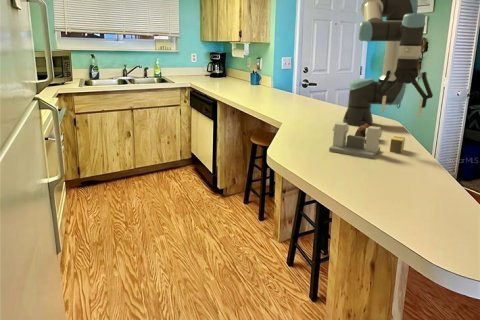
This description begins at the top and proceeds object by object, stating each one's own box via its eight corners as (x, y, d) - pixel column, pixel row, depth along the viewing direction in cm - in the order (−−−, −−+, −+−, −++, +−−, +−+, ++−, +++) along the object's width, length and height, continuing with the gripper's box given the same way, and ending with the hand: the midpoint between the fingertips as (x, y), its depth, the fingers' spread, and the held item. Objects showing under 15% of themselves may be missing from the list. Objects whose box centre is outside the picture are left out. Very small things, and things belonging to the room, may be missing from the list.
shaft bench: (337, 144, 157) (339, 120, 153) (381, 151, 147) (385, 125, 144) (327, 151, 147) (329, 125, 144) (374, 158, 138) (377, 131, 134)
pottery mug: (354, 136, 171) (365, 122, 169) (371, 148, 167) (383, 133, 165) (348, 135, 161) (359, 119, 158) (366, 148, 157) (378, 132, 155)
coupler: (389, 151, 147) (391, 139, 145) (392, 148, 151) (394, 136, 150) (400, 153, 145) (402, 141, 143) (403, 149, 149) (405, 137, 148)
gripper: (371, 57, 140) (365, 112, 147) (445, 59, 127) (434, 119, 134) (376, 56, 146) (370, 109, 153) (447, 58, 133) (437, 116, 140)
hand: (400, 114), depth 143 cm, fingers open, 13 cm apart
